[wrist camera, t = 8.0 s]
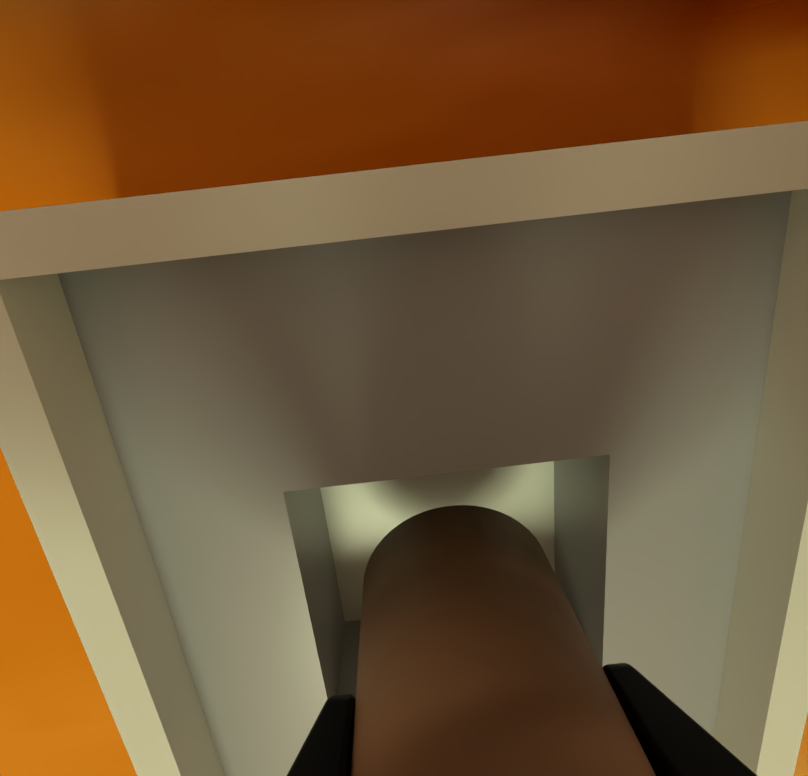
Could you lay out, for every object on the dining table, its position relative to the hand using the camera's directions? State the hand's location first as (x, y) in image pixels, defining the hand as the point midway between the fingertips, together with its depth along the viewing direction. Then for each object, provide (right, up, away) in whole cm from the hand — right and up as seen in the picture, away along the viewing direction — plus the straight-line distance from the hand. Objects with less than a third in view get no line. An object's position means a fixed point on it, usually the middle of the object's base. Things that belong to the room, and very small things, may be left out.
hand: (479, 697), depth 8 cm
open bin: (0, +2, +5) cm, 6 cm away
